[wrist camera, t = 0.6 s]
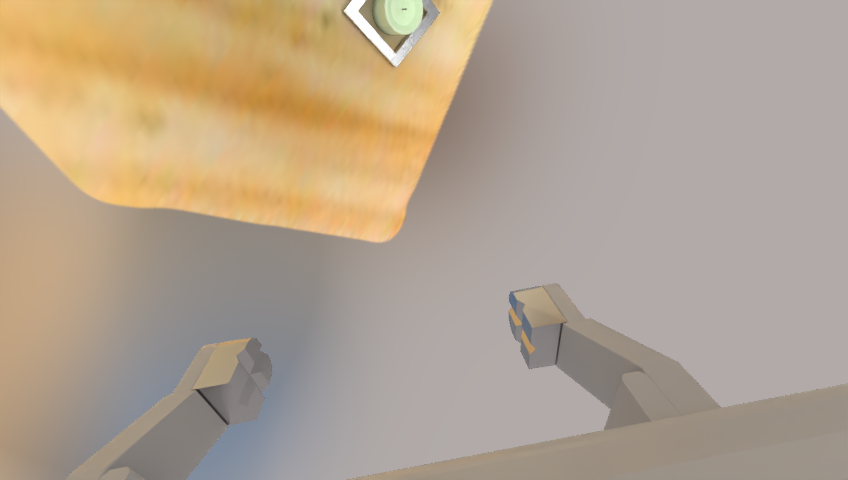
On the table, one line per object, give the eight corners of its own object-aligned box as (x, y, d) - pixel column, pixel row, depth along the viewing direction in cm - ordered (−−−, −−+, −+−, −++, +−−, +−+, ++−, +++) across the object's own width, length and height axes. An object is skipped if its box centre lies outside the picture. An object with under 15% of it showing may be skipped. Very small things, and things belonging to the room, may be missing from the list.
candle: (413, 0, 42) (433, -7, 36) (402, 41, 44) (418, 41, 38) (378, -19, 40) (392, -30, 33) (367, 25, 42) (379, 23, 36)
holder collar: (393, 66, 46) (396, 67, 44) (342, 12, 40) (344, 11, 39) (435, 13, 44) (440, 12, 42) (387, -51, 39) (391, -55, 37)
